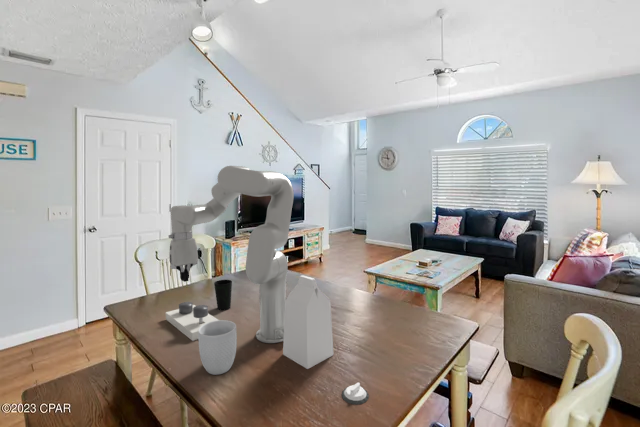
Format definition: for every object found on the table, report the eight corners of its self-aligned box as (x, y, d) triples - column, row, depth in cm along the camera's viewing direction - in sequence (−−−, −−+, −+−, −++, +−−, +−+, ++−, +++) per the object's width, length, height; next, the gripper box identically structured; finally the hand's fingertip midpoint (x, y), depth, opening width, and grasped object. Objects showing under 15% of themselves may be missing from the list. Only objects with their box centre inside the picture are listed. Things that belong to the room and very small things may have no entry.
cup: (235, 305, 151) (234, 279, 150) (229, 311, 144) (228, 285, 142) (219, 304, 152) (218, 279, 151) (212, 311, 144) (211, 284, 143)
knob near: (210, 322, 126) (210, 307, 125) (197, 326, 122) (196, 311, 121) (204, 318, 129) (203, 303, 129) (191, 322, 126) (190, 307, 125)
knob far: (195, 318, 136) (194, 304, 135) (182, 322, 132) (181, 307, 132) (189, 314, 139) (189, 300, 139) (177, 318, 136) (176, 304, 135)
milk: (282, 354, 108) (281, 277, 106) (308, 342, 116) (308, 270, 114) (307, 369, 100) (306, 285, 97) (333, 354, 108) (333, 277, 105)
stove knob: (336, 398, 87) (336, 388, 86) (350, 384, 92) (351, 375, 92) (360, 410, 82) (360, 399, 82) (374, 395, 88) (374, 384, 88)
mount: (223, 330, 126) (223, 322, 125) (192, 341, 117) (192, 332, 117) (194, 311, 144) (194, 304, 144) (165, 319, 136) (165, 312, 136)
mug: (207, 353, 109) (206, 315, 107) (241, 351, 110) (240, 314, 109) (195, 380, 94) (193, 337, 93) (234, 378, 95) (233, 335, 94)
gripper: (166, 239, 124) (169, 287, 126) (204, 234, 135) (206, 278, 137) (159, 237, 130) (162, 282, 132) (196, 233, 140) (198, 275, 142)
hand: (184, 280), depth 134 cm, fingers closed
